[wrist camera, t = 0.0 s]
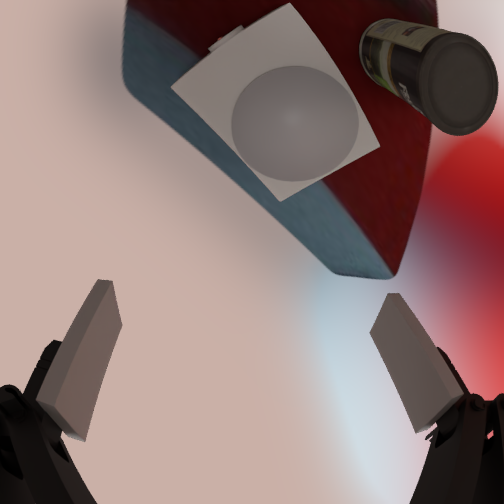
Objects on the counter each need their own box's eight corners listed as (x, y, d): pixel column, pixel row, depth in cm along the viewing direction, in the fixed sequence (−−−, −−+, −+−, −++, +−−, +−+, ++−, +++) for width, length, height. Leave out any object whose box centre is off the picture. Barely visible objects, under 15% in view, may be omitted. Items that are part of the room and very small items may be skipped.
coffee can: (404, 103, 30) (464, 154, 20) (344, 63, 27) (399, 96, 17) (438, 50, 23) (511, 85, 13) (381, 3, 20) (453, 10, 10)
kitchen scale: (278, 0, 21) (286, -4, 17) (366, 129, 33) (383, 150, 29) (175, 73, 27) (162, 84, 23) (276, 180, 40) (280, 206, 36)
